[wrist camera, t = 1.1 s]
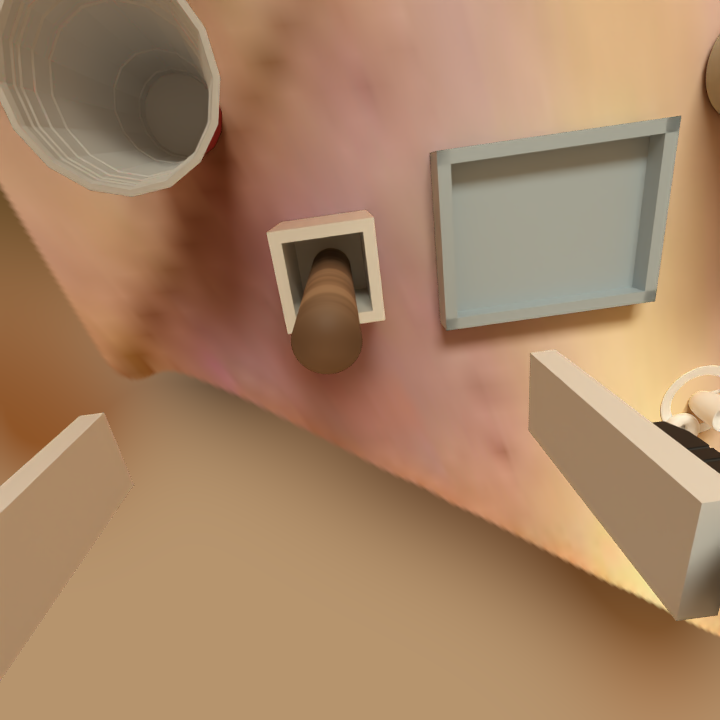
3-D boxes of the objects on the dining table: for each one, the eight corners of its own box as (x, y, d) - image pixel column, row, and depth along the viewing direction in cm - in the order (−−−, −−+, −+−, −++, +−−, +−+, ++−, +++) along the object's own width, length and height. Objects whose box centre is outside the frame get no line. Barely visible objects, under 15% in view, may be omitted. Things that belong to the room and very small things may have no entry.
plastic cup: (288, 110, 32) (262, 72, 21) (203, 221, 35) (141, 240, 24) (162, -17, 29) (53, -140, 18) (80, 117, 32) (-60, 82, 20)
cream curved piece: (663, 448, 46) (692, 471, 43) (639, 394, 44) (667, 414, 40) (743, 406, 45) (780, 427, 41) (723, 348, 42) (761, 365, 38)
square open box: (281, 221, 35) (266, 232, 28) (365, 209, 35) (373, 217, 28) (297, 304, 38) (287, 333, 30) (375, 292, 38) (385, 320, 30)
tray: (429, 153, 34) (436, 151, 31) (657, 120, 33) (681, 115, 31) (440, 321, 39) (446, 330, 37) (636, 294, 39) (654, 301, 37)
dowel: (309, 250, 35) (284, 312, 19) (347, 245, 35) (357, 302, 19) (315, 288, 36) (298, 378, 20) (352, 283, 36) (366, 368, 20)
